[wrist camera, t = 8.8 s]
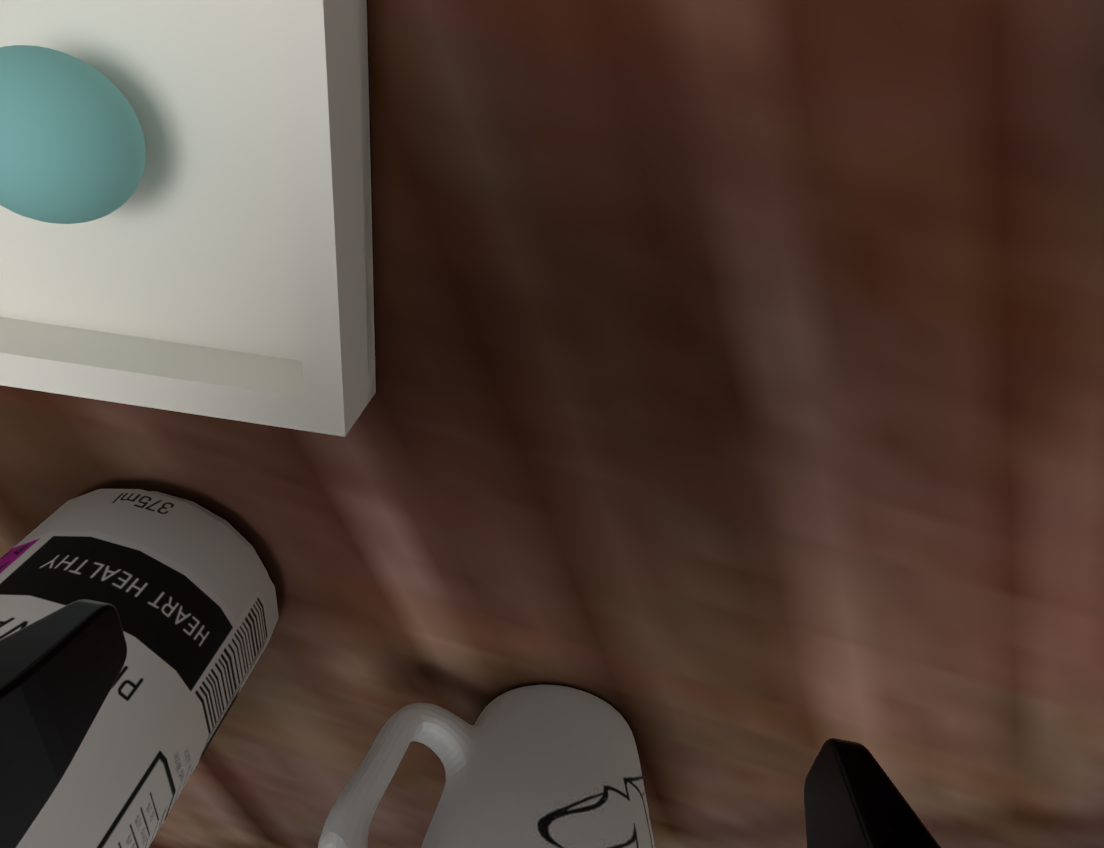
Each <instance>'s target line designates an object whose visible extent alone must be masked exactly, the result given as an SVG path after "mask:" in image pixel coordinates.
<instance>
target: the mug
mask: <svg viewBox="0 0 1104 848" xmlns="http://www.w3.org/2000/svg"><path fill="white" fill-rule="evenodd" d="M411 741H417V742H420V743H423V744H425V745H426V746H428V747H429V748H431V749H432V750H433V751H434V752H435V753H436V754H437V756H438V757H439V758H440V759H441V761H442V763H443V765H444V768H445V773H446V783H445V787H444V790H443V793H442V796H441V799H440V801H439V804H438V806H437V809H436V811H435V813H434V816H433V818H432V821H431V823H430V826H429V828H428V831H427V833H426V836H425V838H424V841H423V844H422V846H421V848H655V843H654V838H653V832H652V827H651V821H650V816H649V810H648V805H647V800H646V794H645V789H644V783H643V778H642V772H641V767H640V761H639V756H638V751H637V747H636V743H635V740H634V737H633V734H632V731H631V729H630V727H629V725H628V724H627V722H626V721H625V720H624V718H623V717H622V716H621V714H620V713H619V712H618V711H616V710H615V709H614V708H613V707H612V706H611V705H610V704H608V703H606V702H605V701H603V700H602V699H600V698H598V697H596V696H594V695H592V694H590V693H587V692H584V691H581V690H578V689H575V688H571V687H566V686H559V685H532V686H524V687H520V688H516V689H513V690H510V691H507V692H505V693H504V694H502V695H500V696H498V697H497V698H495V699H494V700H493V701H491V702H490V703H489V704H488V705H487V706H486V707H485V708H484V710H483V711H482V712H481V714H480V715H479V717H478V719H477V720H476V722H475V724H474V725H470V724H468V723H466V722H465V721H464V720H462V719H461V718H459V717H458V716H456V715H455V714H453V713H452V712H450V711H448V710H446V709H444V708H442V707H440V706H437V705H434V704H430V703H414V704H410V705H407V706H405V707H403V708H401V709H400V710H398V711H397V712H396V713H395V714H394V715H392V716H391V718H390V719H389V720H388V721H387V722H386V723H385V725H384V726H383V727H382V729H381V730H380V732H379V734H378V735H377V737H376V739H375V741H374V742H373V744H372V746H371V748H370V749H369V751H368V753H367V755H366V756H365V758H364V759H363V761H362V763H361V764H360V766H359V767H358V769H357V770H356V772H355V773H354V774H353V776H352V777H351V779H350V780H349V782H348V783H347V785H346V786H345V788H344V789H343V791H342V792H341V794H340V795H339V797H338V799H337V800H336V802H335V804H334V806H333V807H332V809H331V811H330V813H329V815H328V818H327V820H326V822H325V825H324V828H323V831H322V834H321V837H320V840H319V844H318V848H368V847H367V839H368V831H369V827H370V823H371V820H372V818H373V815H374V813H375V810H376V808H377V806H378V804H379V802H380V800H381V798H382V796H383V794H384V792H385V790H386V788H387V787H388V785H389V783H390V781H391V779H392V777H393V775H394V773H395V772H396V770H397V768H398V766H399V764H400V762H401V760H402V758H403V756H404V754H405V752H406V750H407V748H408V746H409V744H410V742H411Z"/></svg>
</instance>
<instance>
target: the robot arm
mask: <svg viewBox="0 0 1104 848" xmlns="http://www.w3.org/2000/svg"><path fill="white" fill-rule="evenodd" d="M126 656H127V644H126V640H125V636H124V633H123V629H122V625H121V621H120V618H119V614H118V611H117V609H116V608H115V607H114V606H113V605H112V604H109V603H104V602H99V601H94V600H88V599H82V600H77V601H74V602H72V603H70V604H68V605H66V606H64V607H62V608H60V609H58V610H57V611H55V612H53V613H51V614H49V615H47V616H45V617H43V618H41V619H39V620H38V621H36V622H34V623H32V624H30V625H28V626H26V627H24V628H22V629H20V630H18V631H17V632H15V633H13V634H11V635H9V636H7V637H5V638H3V639H1V640H0V848H16V847H17V845H18V844H19V842H20V841H21V840H22V838H23V837H24V835H25V834H26V832H27V831H28V829H29V828H30V826H31V825H32V823H33V822H34V820H35V819H36V817H37V816H38V814H39V813H40V811H41V810H42V808H43V807H44V805H45V804H46V802H47V801H48V799H49V798H50V796H51V795H52V793H53V792H54V790H55V788H56V787H57V785H58V784H59V782H60V781H61V779H62V777H63V775H64V774H65V772H66V770H67V768H68V767H69V765H70V763H71V761H72V760H73V758H74V756H75V754H76V752H77V750H78V749H79V747H80V745H81V743H82V741H83V739H84V738H85V736H86V734H87V732H88V730H89V728H90V727H91V725H92V723H93V721H94V719H95V717H96V716H97V714H98V712H99V710H100V708H101V706H102V705H103V703H104V701H105V699H106V697H107V695H108V694H109V692H110V690H111V688H112V686H113V684H114V683H115V681H116V679H117V677H118V675H119V673H120V672H121V670H122V668H123V666H124V663H125V660H126ZM804 803H805V819H806V835H807V848H941V847H940V846H939V845H938V843H937V842H936V841H935V839H934V838H933V836H932V835H931V834H930V832H929V831H928V830H927V828H926V827H925V826H924V824H923V823H922V822H921V820H920V819H919V818H918V816H917V815H916V814H915V812H914V811H913V810H912V808H911V807H910V805H909V804H908V803H907V801H906V800H905V799H904V797H903V796H902V795H901V793H900V792H899V791H898V789H897V788H896V787H895V785H894V784H893V783H892V781H891V780H890V779H889V777H888V776H887V775H886V773H885V772H884V770H883V769H882V768H881V766H880V765H879V764H878V762H877V761H876V760H875V758H874V757H873V756H872V754H871V753H870V752H869V751H868V749H867V748H865V747H864V746H863V745H861V744H859V743H857V742H851V741H846V740H840V739H835V738H831V739H829V740H827V741H826V742H825V743H824V745H823V746H822V748H821V750H820V752H819V754H818V756H817V758H816V759H815V761H814V763H813V765H812V767H811V769H810V771H809V773H808V775H807V777H806V781H805V787H804Z"/></svg>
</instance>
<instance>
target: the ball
mask: <svg viewBox="0 0 1104 848" xmlns="http://www.w3.org/2000/svg"><path fill="white" fill-rule="evenodd" d="M145 161H146V148H145V139H144V135H143V131H142V128H141V125H140V122H139V120H138V118H137V116H136V114H135V112H134V110H133V108H132V107H131V105H130V103H129V102H128V100H127V99H126V98H125V96H124V95H123V94H122V93H121V92H120V90H119V89H118V88H117V87H116V86H115V85H114V84H113V83H112V82H111V81H110V80H108V79H107V78H106V77H105V76H104V75H103V74H102V73H100V72H99V71H98V70H96V69H95V68H93V67H92V66H90V65H88V64H87V63H85V62H83V61H81V60H79V59H77V58H75V57H73V56H71V55H69V54H66V53H63V52H60V51H57V50H54V49H50V48H45V47H40V46H30V45H13V46H4V47H0V205H1V206H3V207H5V208H7V209H9V210H10V211H12V212H14V213H17V214H19V215H22V216H24V217H28V218H31V219H34V220H38V221H42V222H48V223H56V224H75V223H84V222H89V221H93V220H96V219H99V218H102V217H104V216H106V215H109V214H110V213H112V212H113V211H115V210H116V209H118V208H120V207H121V206H122V205H123V204H124V203H125V202H126V201H127V200H128V199H129V198H130V197H131V196H132V194H133V193H134V192H135V191H136V189H137V187H138V185H139V183H140V181H141V178H142V175H143V172H144V168H145Z"/></svg>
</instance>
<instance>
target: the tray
mask: <svg viewBox="0 0 1104 848" xmlns="http://www.w3.org/2000/svg"><path fill="white" fill-rule="evenodd" d="M13 45H30V46H40V47H45V48H50V49H54V50H57V51H60V52H63V53H66V54H69V55H71V56H73V57H75V58H77V59H79V60H81V61H83V62H85V63H87V64H88V65H90V66H92V67H93V68H95V69H96V70H98V71H99V72H100V73H102V74H103V75H104V76H105V77H106V78H107V79H108V80H110V81H111V82H112V83H113V84H114V85H115V86H116V87H117V88H118V89H119V90H120V92H121V93H122V94H123V95H124V96H125V98H126V99H127V100H128V102H129V103H130V105H131V107H132V108H133V110H134V112H135V114H136V116H137V118H138V120H139V122H140V125H141V128H142V131H143V135H144V139H145V148H146V161H145V168H144V172H143V175H142V178H141V181H140V183H139V185H138V187H137V189H136V191H135V192H134V193H133V194H132V196H131V197H130V198H129V199H128V200H127V201H126V202H125V203H124V204H123V205H122V206H121V207H120V208H118V209H116V210H115V211H113V212H112V213H110V214H109V215H106V216H104V217H102V218H99V219H96V220H93V221H89V222H84V223H75V224H56V223H48V222H42V221H38V220H34V219H31V218H28V217H24V216H22V215H19V214H17V213H14V212H12V211H10V210H9V209H7V208H5V207H3V206H1V205H0V385H4V386H10V387H17V388H24V389H30V390H37V391H44V392H50V393H57V394H63V395H70V396H77V397H83V398H90V399H97V400H103V401H110V402H117V403H123V404H130V405H137V406H143V407H150V408H157V409H163V410H170V411H176V412H183V413H190V414H196V415H203V416H210V417H216V418H223V419H230V420H236V421H243V422H250V423H256V424H263V425H269V426H276V427H283V428H289V429H296V430H303V431H309V432H316V433H323V434H329V435H336V436H343V437H345V436H346V435H347V434H348V432H349V431H350V429H351V428H352V426H353V425H354V423H355V422H356V421H357V419H358V418H359V416H360V415H361V413H362V412H363V410H364V409H365V407H366V406H367V405H368V403H369V402H370V400H371V399H372V397H373V396H374V394H375V393H376V376H375V334H374V292H373V249H372V207H371V164H370V122H369V80H368V37H367V0H0V47H4V46H13Z"/></svg>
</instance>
